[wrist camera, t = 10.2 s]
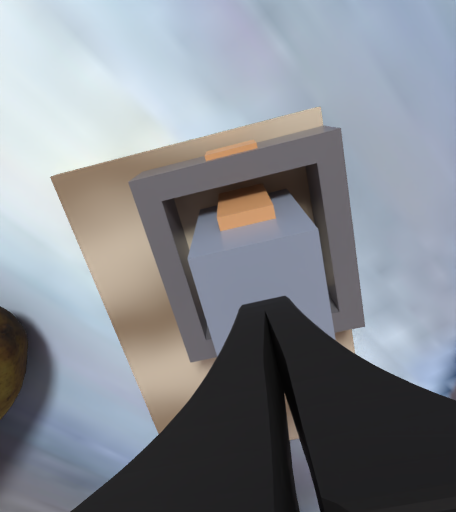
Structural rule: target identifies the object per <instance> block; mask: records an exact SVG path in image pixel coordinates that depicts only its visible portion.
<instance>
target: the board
mask: <svg viewBox="0 0 456 512" xmlns="http://www.w3.org/2000/svg"><path fill="white" fill-rule="evenodd" d="M320 126H323V120H322V113H321V107H316V108H312V109H308V110H304V111H300V112H296V113H292V114H289V115H285V116H281V117H277V118H273V119H269V120H265V121H262V122H258V123H254V124H250V125H246V126H242V127H238V128H235V129H231V130H227V131H223V132H219V133H215V134H211V135H208V136H204V137H200V138H196V139H192V140H188V141H184V142H181V143H177V144H173V145H169V146H165V147H161V148H157V149H154V150H150V151H146V152H142V153H138V154H134V155H130V156H127V157H123V158H119V159H115V160H111V161H107V162H103V163H100V164H96V165H92V166H88V167H84V168H80V169H76V170H73V171H69V172H65V173H61V174H57V175H54V176H51V177H50V178H51V180H52V182H53V185H54V187H55V190H56V192H57V194H58V197H59V199H60V201H61V204H62V206H63V209H64V211H65V213H66V216H67V218H68V220H69V223H70V225H71V227H72V230H73V232H74V235H75V237H76V239H77V242H78V244H79V246H80V249H81V251H82V254H83V256H84V258H85V261H86V263H87V265H88V268H89V270H90V272H91V275H92V277H93V280H94V282H95V284H96V287H97V289H98V291H99V294H100V296H101V299H102V301H103V303H104V306H105V308H106V310H107V313H108V315H109V317H110V320H111V322H112V325H113V327H114V329H115V332H116V334H117V336H118V339H119V341H120V344H121V346H122V348H123V351H124V353H125V355H126V358H127V360H128V362H129V365H130V367H131V370H132V372H133V374H134V377H135V379H136V381H137V384H138V386H139V388H140V391H141V393H142V396H143V398H144V400H145V403H146V405H147V407H148V410H149V412H150V415H151V417H152V419H153V422H154V424H155V426H156V429H157V431H158V433H159V434H160V433H161V432H162V431H163V429H164V428H165V427H166V426H167V425H168V424H169V423H170V421H171V420H172V419H173V418H174V417H175V416H176V415H177V414H178V412H179V411H180V410H181V409H182V408H183V407H184V406H185V404H186V403H187V402H188V401H189V399H190V398H191V397H192V395H193V394H194V393H195V391H196V390H197V388H198V387H199V386H200V384H201V383H202V381H203V380H204V378H205V377H206V375H207V373H208V372H209V370H210V368H211V367H212V365H213V363H214V362H215V360H216V358H217V357H215V358H210V359H205V360H201V361H196V362H191V363H190V360H189V357H188V354H187V351H186V348H185V345H184V343H183V340H182V337H181V334H180V331H179V328H178V325H177V322H176V319H175V317H174V314H173V311H172V308H171V305H170V302H169V299H168V296H167V293H166V290H165V288H164V285H163V282H162V279H161V276H160V273H159V270H158V267H157V264H156V262H155V259H154V256H153V253H152V250H151V247H150V244H149V241H148V238H147V235H146V233H145V230H144V227H143V224H142V221H141V218H140V215H139V212H138V209H137V207H136V204H135V201H134V198H133V195H132V192H131V189H130V186H129V183H128V182H129V181H130V180H132V179H133V178H134V177H136V176H137V175H138V174H140V173H141V172H143V171H147V170H151V169H155V168H159V167H163V166H167V165H171V164H175V163H178V162H182V161H186V160H190V159H194V158H198V157H202V156H205V154H206V152H207V151H210V150H214V149H218V148H222V147H226V146H230V145H234V144H238V143H242V142H245V141H249V140H254V141H255V142H256V143H257V142H261V141H265V140H269V139H273V138H277V137H281V136H284V135H288V134H292V133H296V132H300V131H304V130H308V129H312V128H316V127H320ZM261 183H262V184H263V186H264V187H265V189H266V191H267V193H271V192H275V191H279V190H283V189H287V190H288V191H289V193H290V194H291V195H292V196H293V198H294V199H295V200H296V202H297V203H298V204H299V205H300V207H301V208H302V209H303V210H304V212H305V213H306V214H307V216H308V217H309V218H310V219H311V221H312V222H313V223H314V224H315V222H314V216H313V210H312V204H311V198H310V191H309V185H308V179H307V173H306V167H305V166H303V167H299V168H295V169H291V170H286V171H282V172H278V173H274V174H270V175H266V176H262V177H258V178H254V179H250V180H246V181H242V182H238V183H234V184H230V185H226V186H222V187H218V188H213V189H209V190H205V191H201V192H197V193H193V194H189V195H185V196H181V197H177V198H174V201H175V204H176V207H177V211H178V214H179V217H180V220H181V224H182V227H183V230H184V234H185V237H186V240H187V243H188V247H189V250H190V247H191V243H192V239H193V235H194V231H195V227H196V224H197V220H198V216H199V212H200V209H204V208H208V207H212V206H217V205H218V196H219V194H220V193H224V192H228V191H232V190H236V189H240V188H244V187H249V186H253V185H257V184H261ZM335 339H336V341H337V342H339V343H340V344H341V345H343V346H344V347H346V348H347V349H349V350H350V351H352V352H353V353H355V350H354V343H353V336H352V329H350V330H345V331H341V332H336V333H335ZM284 394H285V393H284ZM285 404H286V413H287V422H288V431H289V440H294V439H299V436H298V433H297V430H296V427H295V424H294V420H293V417H292V414H291V411H290V408H289V405H288V402H287V399H286V396H285Z"/></svg>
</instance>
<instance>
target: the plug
mask: <svg viewBox="0 0 456 512" xmlns="http://www.w3.org/2000/svg"><path fill="white" fill-rule="evenodd" d="M188 263H189V266H190V269H191V272H192V276H193V279H194V282H195V286H196V289H197V292H198V295H199V299H200V302H201V305H202V308H203V312H204V315H205V318H206V321H207V325H208V328H209V331H210V335H211V338H212V341H213V344H214V348H215V351H216V354H217V356H218V355H219V353H220V351H221V349H222V347H223V345H224V343H225V341H226V339H227V337H228V335H229V333H230V331H231V328H232V326H233V324H234V321H235V319H236V316H237V313H238V310H239V308H240V307H241V305H244V304H248V303H253V302H258V301H262V300H267V299H271V298H276V297H280V296H286V297H288V298H290V300H291V301H292V302H293V303H294V305H295V306H296V307H297V308H298V309H299V310H300V311H301V312H302V313H303V314H304V315H305V316H306V317H308V318H309V319H310V320H311V321H312V322H313V323H314V324H316V325H317V326H318V327H319V328H320V329H322V330H323V331H324V332H325V333H326V334H328V335H329V336H330V337H332V338H333V339H334V340H336V339H335V333H334V327H333V320H332V314H331V307H330V301H329V295H328V288H327V282H326V276H325V269H324V263H323V256H322V250H321V244H320V237H319V231H318V228H317V227H316V226H315V224H314V223H313V222H312V221H311V219H310V218H309V217H308V216H307V214H306V213H305V212H304V210H303V209H302V208H301V207H300V205H299V204H298V203H297V202H296V200H295V199H294V198H293V196H292V195H291V194H290V193H289V191H288V190H287V189H283V190H279V191H275V192H271V193H267V191H266V189H265V187H264V186H263V184H262V183H261V184H257V185H253V186H249V187H244V188H240V189H236V190H232V191H228V192H224V193H220V194H219V196H218V205H217V206H212V207H208V208H204V209H200V212H199V216H198V220H197V224H196V227H195V231H194V235H193V239H192V243H191V247H190V251H189V255H188Z"/></svg>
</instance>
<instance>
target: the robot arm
mask: <svg viewBox="0 0 456 512" xmlns="http://www.w3.org/2000/svg"><path fill="white" fill-rule="evenodd" d="M284 393H285V394H284ZM285 396H286V399H287V402H288V405H289V408H290V411H291V414H292V417H293V420H294V424H295V427H296V430H297V433H298V436H299V439H300V442H301V445H302V448H303V451H304V454H305V457H306V460H307V463H308V466H309V469H310V473H311V476H312V480H313V484H314V487H315V491H316V495H317V499H318V504H319V508H320V512H456V401H455V400H453V399H450V398H447V397H445V396H442V395H439V394H436V393H434V392H431V391H429V390H427V389H424V388H422V387H419V386H417V385H415V384H412V383H410V382H408V381H406V380H404V379H402V378H399V377H397V376H395V375H393V374H391V373H389V372H387V371H385V370H383V369H381V368H379V367H377V366H375V365H373V364H371V363H370V362H368V361H366V360H364V359H363V358H361V357H359V356H358V355H356V354H355V353H353V352H352V351H350V350H349V349H347V348H346V347H344V346H343V345H341V344H340V343H339V342H337V341H336V340H334V339H333V338H332V337H330V336H329V335H328V334H326V333H325V332H324V331H323V330H322V329H320V328H319V327H318V326H317V325H316V324H314V323H313V322H312V321H311V320H310V319H309V318H308V317H306V316H305V315H304V314H303V313H302V312H301V311H300V310H299V309H298V308H297V307H296V306H295V305H294V303H293V302H292V301H291V300H290V298H288V297H286V296H280V297H276V298H271V299H267V300H262V301H258V302H253V303H248V304H244V305H241V307H240V308H239V310H238V313H237V316H236V319H235V321H234V324H233V326H232V328H231V331H230V333H229V335H228V337H227V339H226V341H225V343H224V345H223V347H222V349H221V351H220V353H219V355H218V356H217V358H216V360H215V362H214V363H213V365H212V367H211V368H210V370H209V372H208V373H207V375H206V377H205V378H204V380H203V381H202V383H201V384H200V386H199V387H198V388H197V390H196V391H195V393H194V394H193V395H192V397H191V398H190V399H189V401H188V402H187V403H186V404H185V406H184V407H183V408H182V409H181V410H180V411H179V412H178V414H177V415H176V416H175V417H174V418H173V419H172V420H171V421H170V423H169V424H168V425H167V426H166V427H165V428H164V429H163V431H162V432H161V433H160V434H159V435H158V436H157V437H156V438H155V439H154V440H153V441H152V442H151V443H150V444H149V445H148V446H147V447H146V448H145V449H144V450H143V451H141V452H140V453H139V454H138V455H137V456H136V457H135V458H134V459H133V460H132V461H131V462H130V463H129V464H128V465H126V466H125V467H124V468H123V469H122V470H121V471H120V472H118V473H117V474H116V475H115V476H114V477H113V478H111V479H110V480H109V481H108V482H107V483H105V484H104V485H103V486H102V487H100V488H99V489H98V490H97V491H96V492H94V493H93V494H92V495H91V496H89V497H88V498H87V499H86V500H84V501H83V502H82V503H81V504H80V505H78V506H77V507H76V508H75V509H73V510H72V511H71V512H300V511H299V506H298V501H297V496H296V490H295V483H294V476H293V469H292V460H291V450H290V441H289V431H288V422H287V413H286V404H285Z"/></svg>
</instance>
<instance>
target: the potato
mask: <svg viewBox="0 0 456 512" xmlns="http://www.w3.org/2000/svg"><path fill="white" fill-rule="evenodd" d="M27 349H28V340H27V334H26V331H25V329H24V328H23V326H22V325H21V324H20V322H19V321H18V320H17V319H16V318H15V317H14V316H13V315H12V314H11V313H10V312H9V311H7V310H6V309H4V308H2V307H1V306H0V420H1V419H2V417H3V416H4V415H5V414H6V413H7V411H8V410H9V409H10V407H11V406H12V404H13V402H14V401H15V399H16V398H17V396H18V394H19V392H20V390H21V387H22V383H23V380H24V376H25V372H26V364H27Z"/></svg>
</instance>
